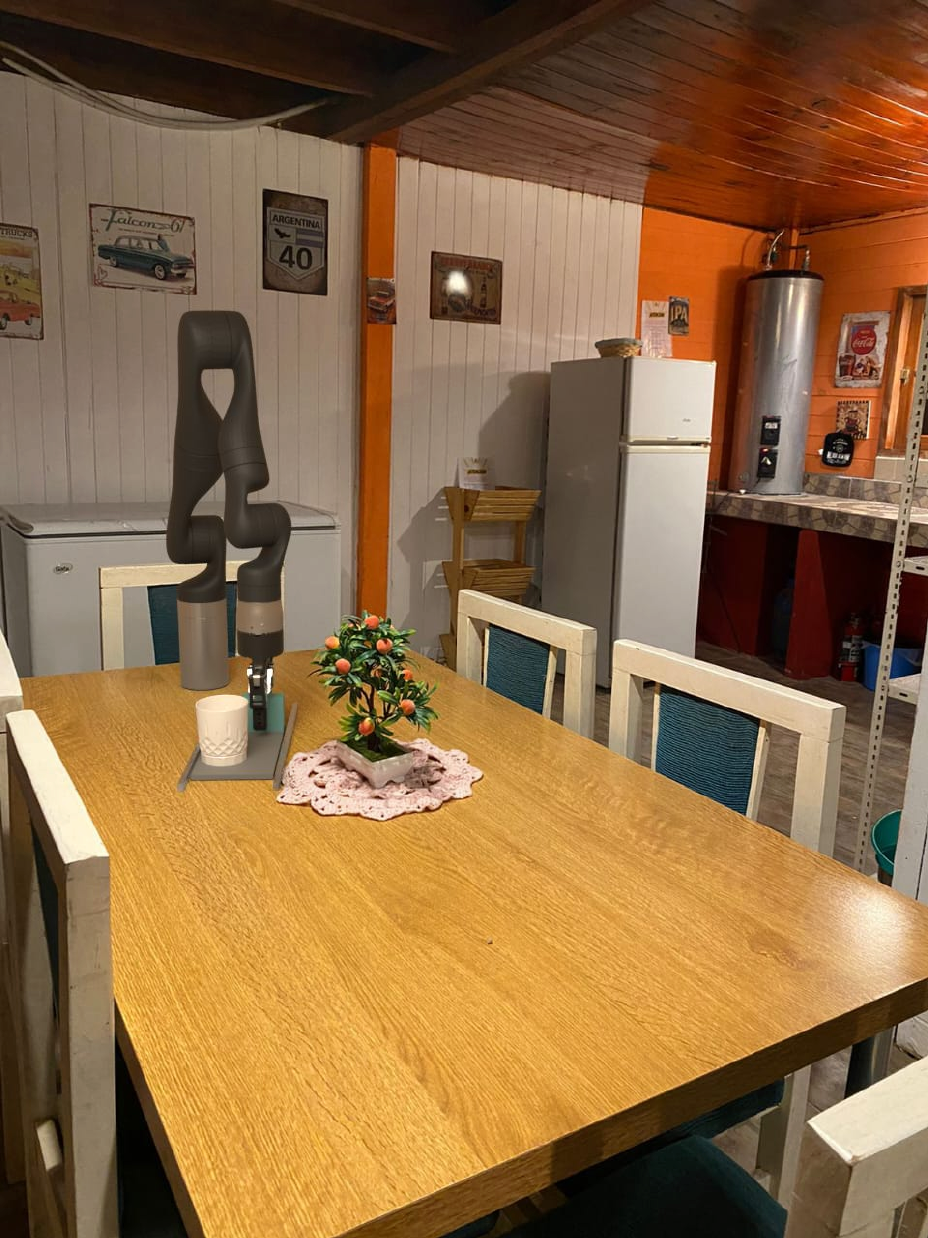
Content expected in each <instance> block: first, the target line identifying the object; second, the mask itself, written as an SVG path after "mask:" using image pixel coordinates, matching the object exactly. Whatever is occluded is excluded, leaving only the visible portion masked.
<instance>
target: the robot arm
mask: <svg viewBox="0 0 928 1238" xmlns="http://www.w3.org/2000/svg"><path fill="white" fill-rule="evenodd" d="M176 338H177V403H176V404H177V405H176V407H177V409H176V419H175V429H174V436H173V437H174V439H173V452H172V453H173V454H172V455H173V457H172V459H173V460H172V465H173V466H172V487H171V488H172V489H171V490H172V491H171V497H170V498H171V499H170V504H169V505H170V506H169V511H168V519H167V525H166V534H165V535H166V536H165V545H166V546H165V547H166V548H165V549H166V553H167V556H168V559H169V560H170V561H171V562H172V563H174V564H175V565H176V564H177V565H203V564H204V565H205V564H206V566H205V568H204V569H203V570H202V571H200V573H198V574H197V575H195V576H193V577H191V578H189V579H186V580H183V581H181V582H180V583H179V584H177V586H176V604H177V607H176V608H177V623H178V625H177V626H178V647H179V648H178V651H179V671H180V673H179V675H180V686H181V687H183V688H184V689H189V690H196V691H203V690H204V691H206V690H215V689H219V688H220V689H221V688H223V687H225V686H227V685H228V684H229V683H230V676H229V675H230V671H229V670H230V669H229V640H228V638H229V637H228V636H229V635H228V611H227V610H228V608H227V541H228V543H229V544H230V545H232V547H234V548H236V549H239V550H240V549H241V550H247V549H259V548H261V550H260V552H259V554H258V556H257V557H256V558H253V559H252V560H249V561H247V562H244V563H242V564H240V565H239V566H238V567H237V571H236V591H237V592H236V594H237V596H236V597H237V601H236V613H235V615H236V617H235V618H236V620H235V621H236V643H237V644H236V647H237V648H236V650H237V654H238V655H239V656H240V657H243V658H245V659H246V658H248V659H250V660H251V662H250V663H249V666H248V667H247V679H248V693H249V694H250V703H249V707H250V709H253V729H254V730H255V731H265V730H266V729H267V707H268V704H267V697H268V695H269V694H270V693H274V692H273V691H274V690H273V687H274V681H275V676H274V673H275V662H273V661H274V658H276V657H279V656H282V654H284V652H285V643H284V642H285V639H284V638H285V637H284V636H285V634H284V633H285V632H284V609H283V602H282V573H283V572H282V571H283V569H284V568H283V567H284V562H285V560H286V559H285V558H286V554H287V550H288V547H289V543H290V539H291V534H292V521H291V520H292V519H291V516H290V514H289V512H288V510H287V508H286V507H285V506H284V505H282V504H280V503H277V502H263V503H261V502H260V503H248V496H249V494H252V493H254V492H258V491H261V490H264V489H265V488H266V487H267V486H268V485H269V483H270V473H269V466H268V464H267V463H268V462H267V458H266V454H265V450H264V445H263V440H262V439H263V438H262V434H261V429H260V421H259V411H258V409H259V408H258V398H257V397H258V396H257V395H258V394H257V381H256V380H257V379H256V372H255V371H256V370H255V361H254V360H255V358H254V348H253V341H252V336H251V331H250V327H249V324H248V321H247V319H246V318H245V316H244V315H243V314H242V313H241V312H240V311H235V310H218V309H217V310H214V309H213V310H211V309H210V310H205V309H204V310H188V311H185V312H183V313H182V314H181V316H180V319H179V321H178V326H177V337H176ZM205 370H209V371H210V370H231V371H232V374H233V393H232V397H231V398H230V399H231V400H230V402H229V405H228V408H227V410H226V413H225V415H224V416H223V418H222V417H221V415H220V413H219V412H218V410H217V409H216V407H214V405H213V404H212V401H211V400H210V398H209V396H208V395H207V392H206V391H205V389H204V387H203V382H202V375H203V372H204V371H205ZM222 475H223V476H224V483H225V489H224V491H225V493H224V495H225V501H224V514H223V518H222V517H221V516H220V515H216V514H202V515H193V513H194V510H195V508H196V506H197V504H198V503H199V502H200V501H201V500H202V498H203V497H204V496H205V495H206V494H207V493H208V492H209V491H210V490H211V488H213V487H214V485H216V483H217V482H218V481H219V480H220V478H221V477H222ZM255 696H262V701H255Z"/></svg>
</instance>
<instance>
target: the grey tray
mask: <svg viewBox="0 0 928 1238" xmlns="http://www.w3.org/2000/svg"><path fill="white" fill-rule="evenodd" d="M240 696H241V697H244V698H246V699H247V700H248V741H247V742H248V745H247V751H246V760H244V761H243V762H241V763H238V764H235V765H230V766H212V765H207V764H205V763H204V762H202V756H201V755H200V757H199V759H198V761H197V763H196V765H195V767H194V770H193V772H192V774H191V776H190V781H216V780H218V781H219V780H221V781H223V780H225V781H226V780H231V781H232V780H234V781H235V780H274V777H275V773H276V769H277V765H278V761H279V757H280V753H281V749H282V745H283V741H284V737H285V733H286V729H287V726H286V714H285V713H286V710H285V708H286V704H285V701H286V700H285V693H284V692H283V693H282V692H272V693H270V694H269V695H268V697H267V704H268V707H267V729H266V730H265V731H255V730H254V729H253V709H250V707H249V703H250V694H249V692H247V693H246V692H245V693H241V695H240ZM255 701H262V696H255Z"/></svg>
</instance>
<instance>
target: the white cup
mask: <svg viewBox="0 0 928 1238" xmlns="http://www.w3.org/2000/svg"><path fill="white" fill-rule="evenodd" d="M194 705H195V714H196V715H195V716H196V727H197V735H198V741H199V744H200V749H201V756H202V762H204V763H205V764H207V765H212V766H230V765H235V764H238V763H241V762H243V761H244V760H246V751H247V745H248V742H247V741H248V700H247V699H246V698H244V697H241V695H237V694H236V695H234V694H218V695H217V694H216V695H210V696H206V697H203V698H201V699H199V700H197V701H196V702H195V704H194Z"/></svg>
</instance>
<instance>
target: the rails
mask: <svg viewBox="0 0 928 1238" xmlns="http://www.w3.org/2000/svg"><path fill="white" fill-rule="evenodd" d="M298 705H299V704H298V701H297V702H292V706H291V709H290V713H289V717H288V722H287V726H286V730H285V734H284V738H283V742H282V746H281V750H280V754H279V758H278V762H277V766H276V770H275V774H274V778H273V782H272V786H273V787H272V791H279V790H280V787H281V783H282V779H281V778H283V774H282V772H283V773H284V770H285V765H286V761H287V757H288V752H289V748H290V743H291V739H292V736H293V730H294V727H295V722H296V718H297V713H298ZM200 755H201V749H200V744H199V740H198V741H197V744H195V747H194V749H193V751H192V753H191V754H190V757H189V759H188V761H187V764H186V765H185V767H184V770H183V771H182V773H181V776H180V778H179V779H178V781H177V784H176V786H177V788H176V789H177V793H183V792H185V790H186V786H187V784H188V782H189V781H190V779H191V774H192V772H193V770H194V767H195V765H196V763H197V761H198V759H199V757H200ZM283 769H284V770H283Z"/></svg>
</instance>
